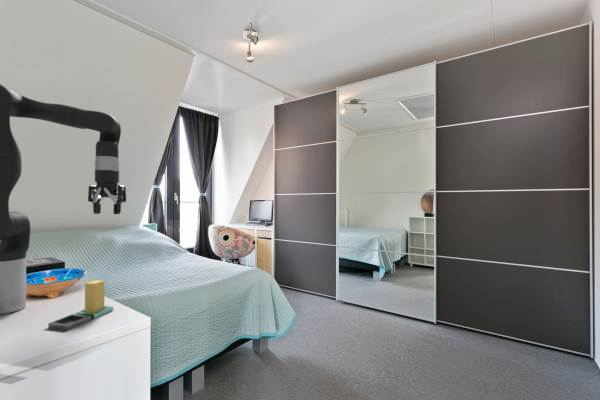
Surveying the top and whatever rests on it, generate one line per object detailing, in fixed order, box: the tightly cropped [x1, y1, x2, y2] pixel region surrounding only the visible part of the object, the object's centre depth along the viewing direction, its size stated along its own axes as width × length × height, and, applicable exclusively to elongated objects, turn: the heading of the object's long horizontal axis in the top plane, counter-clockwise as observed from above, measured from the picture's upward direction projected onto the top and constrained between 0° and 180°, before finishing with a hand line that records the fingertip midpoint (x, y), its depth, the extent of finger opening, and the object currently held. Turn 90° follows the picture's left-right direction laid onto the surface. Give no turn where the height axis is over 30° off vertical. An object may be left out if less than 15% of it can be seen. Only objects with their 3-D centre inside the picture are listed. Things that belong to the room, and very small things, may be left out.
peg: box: [84, 279, 105, 314], centre depth 95 cm, size 4×4×10 cm
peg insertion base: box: [43, 305, 114, 334], centre depth 90 cm, size 7×17×2 cm, turn 168°
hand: (107, 214), depth 109 cm, fingers open, 8 cm apart
